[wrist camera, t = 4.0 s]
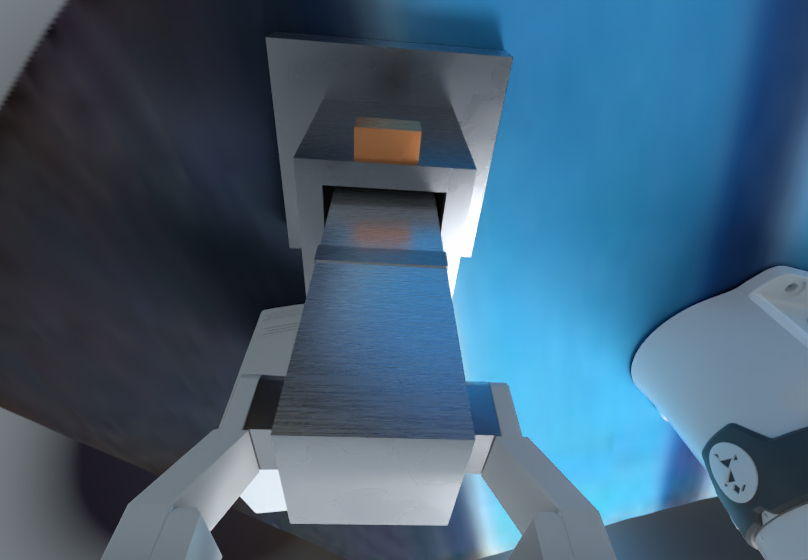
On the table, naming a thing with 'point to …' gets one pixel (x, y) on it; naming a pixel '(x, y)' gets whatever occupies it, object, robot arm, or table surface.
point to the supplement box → (273, 358)
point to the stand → (384, 128)
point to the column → (375, 372)
